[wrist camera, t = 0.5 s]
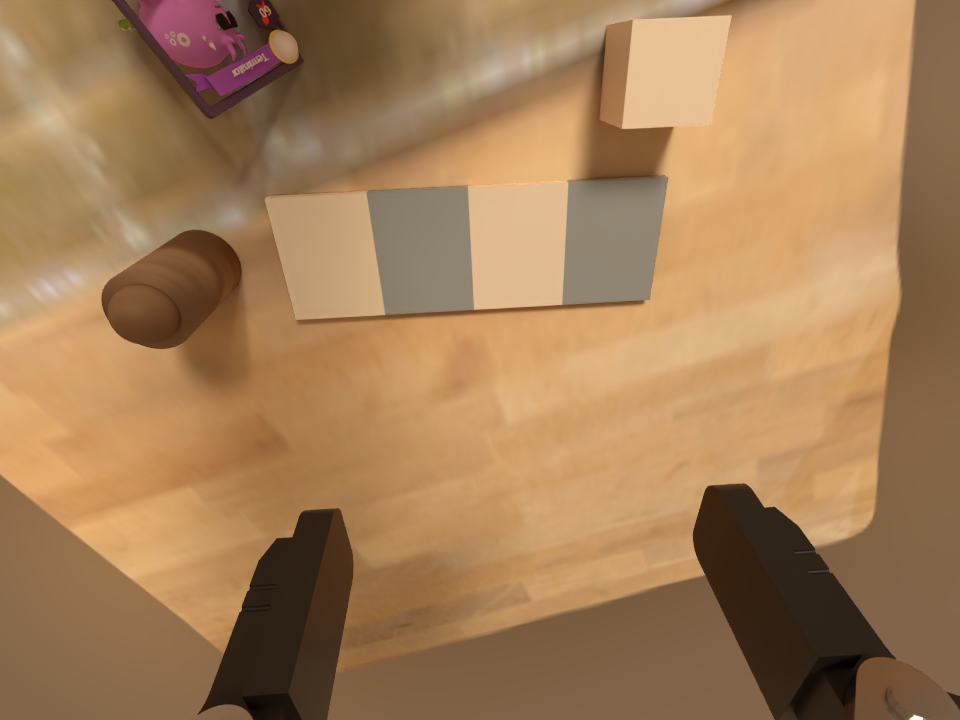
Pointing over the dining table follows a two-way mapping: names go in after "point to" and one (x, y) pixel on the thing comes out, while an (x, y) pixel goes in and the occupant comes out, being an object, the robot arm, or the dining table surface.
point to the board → (468, 246)
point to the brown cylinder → (171, 289)
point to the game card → (212, 46)
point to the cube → (663, 71)
